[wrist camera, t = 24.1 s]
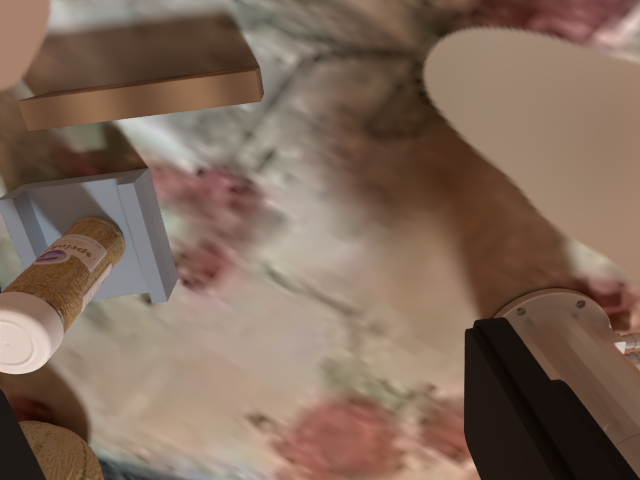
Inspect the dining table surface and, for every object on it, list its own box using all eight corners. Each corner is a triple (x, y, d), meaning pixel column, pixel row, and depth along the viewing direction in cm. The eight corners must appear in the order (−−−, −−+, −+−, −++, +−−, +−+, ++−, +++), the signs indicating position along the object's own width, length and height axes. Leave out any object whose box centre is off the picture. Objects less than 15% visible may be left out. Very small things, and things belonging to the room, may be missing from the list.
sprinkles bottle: (109, 207, 37) (19, 298, 25) (137, 257, 39) (65, 364, 27) (56, 225, 38) (-58, 323, 26) (86, 273, 40) (-8, 386, 27)
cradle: (148, 168, 38) (133, 183, 35) (178, 277, 42) (167, 301, 39) (24, 183, 38) (-5, 200, 35) (65, 291, 42) (44, 317, 39)
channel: (236, -77, 32) (229, -91, 28) (264, 93, 36) (260, 101, 33) (-2, -47, 32) (-41, -56, 28) (54, 120, 36) (27, 131, 33)
